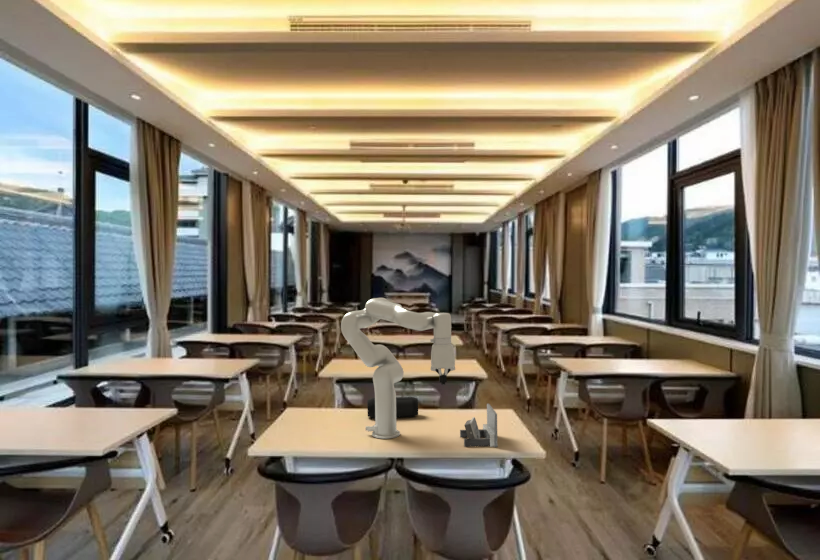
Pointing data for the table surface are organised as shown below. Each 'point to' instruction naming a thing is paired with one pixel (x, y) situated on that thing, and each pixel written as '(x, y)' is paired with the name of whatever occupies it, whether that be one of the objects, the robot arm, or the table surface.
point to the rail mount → (484, 432)
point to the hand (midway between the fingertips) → (443, 384)
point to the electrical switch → (472, 429)
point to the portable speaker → (398, 407)
